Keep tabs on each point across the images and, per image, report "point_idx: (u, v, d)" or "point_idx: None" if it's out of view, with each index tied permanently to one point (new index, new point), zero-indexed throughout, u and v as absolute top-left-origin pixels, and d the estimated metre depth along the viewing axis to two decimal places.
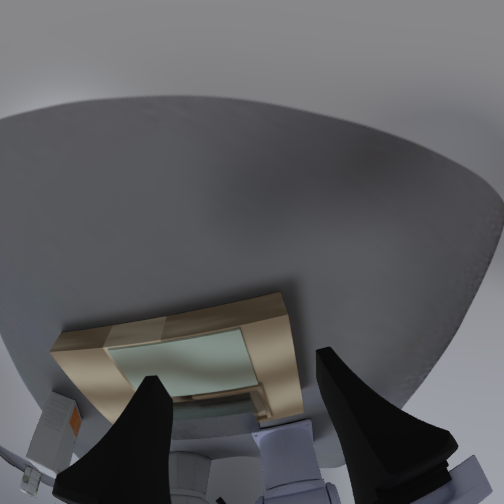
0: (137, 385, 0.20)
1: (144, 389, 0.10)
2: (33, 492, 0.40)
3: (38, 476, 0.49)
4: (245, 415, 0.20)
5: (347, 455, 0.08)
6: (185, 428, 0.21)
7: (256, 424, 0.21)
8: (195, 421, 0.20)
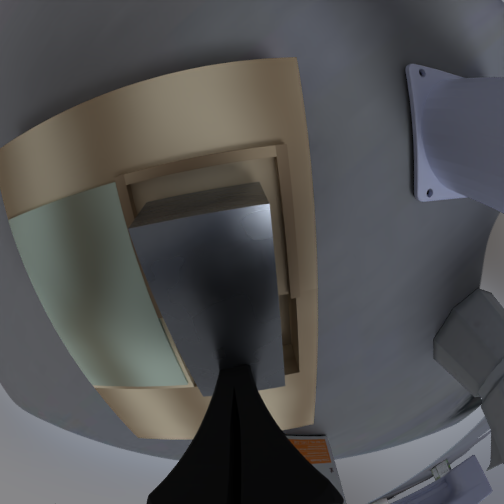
0: (151, 381, 0.13)
1: (227, 382, 0.10)
2: None
3: (445, 464, 0.54)
4: (150, 245, 0.07)
5: None
6: (224, 366, 0.10)
7: (214, 215, 0.07)
8: (188, 348, 0.10)
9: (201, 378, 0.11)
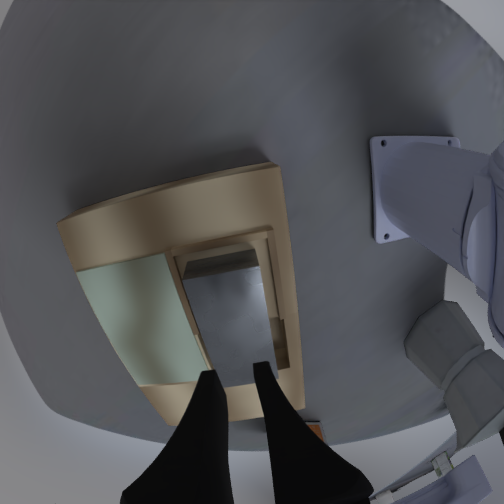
0: (185, 377, 0.19)
1: (206, 384, 0.10)
2: None
3: (444, 456, 0.60)
4: (195, 289, 0.14)
5: None
6: (236, 363, 0.16)
7: (230, 273, 0.14)
8: (214, 350, 0.16)
9: (221, 372, 0.17)
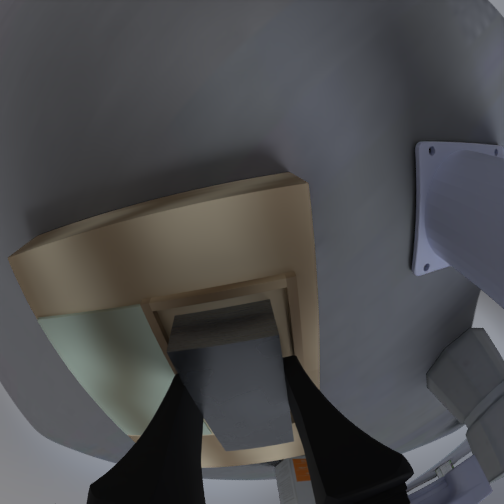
0: None
1: (177, 387, 0.10)
2: None
3: (449, 465, 0.55)
4: (185, 362, 0.09)
5: (308, 466, 0.08)
6: (243, 431, 0.12)
7: (235, 344, 0.09)
8: (215, 422, 0.11)
9: (225, 440, 0.12)
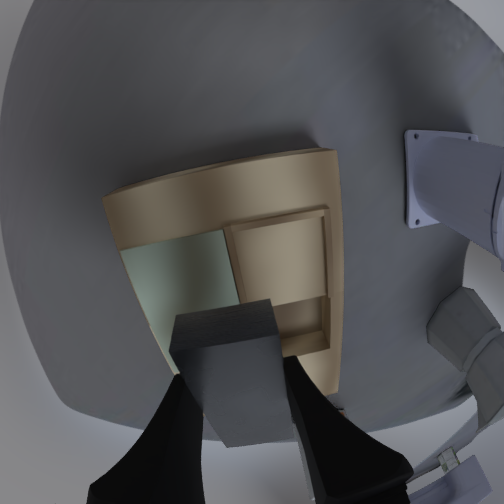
0: None
1: (177, 387, 0.10)
2: None
3: (450, 451, 0.60)
4: (187, 361, 0.09)
5: (308, 466, 0.08)
6: (244, 428, 0.12)
7: (237, 344, 0.09)
8: (216, 419, 0.11)
9: (226, 436, 0.12)
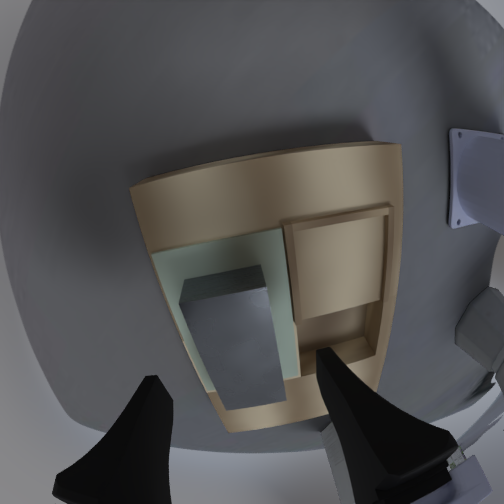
0: None
1: (144, 389, 0.10)
2: None
3: (458, 451, 0.58)
4: (193, 312, 0.12)
5: (347, 455, 0.08)
6: (241, 387, 0.14)
7: (233, 295, 0.12)
8: (216, 375, 0.14)
9: (225, 396, 0.15)
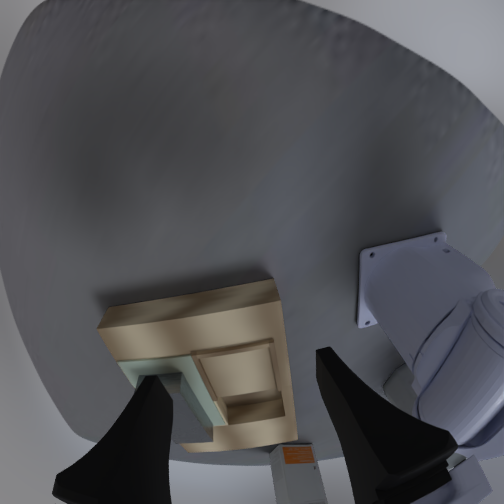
0: None
1: (144, 389, 0.10)
2: None
3: None
4: None
5: (347, 455, 0.08)
6: (180, 433, 0.20)
7: None
8: None
9: (172, 436, 0.21)
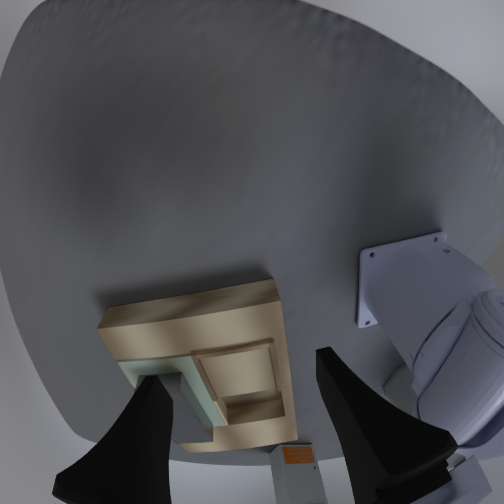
0: None
1: (144, 389, 0.10)
2: None
3: None
4: None
5: (347, 455, 0.08)
6: (180, 433, 0.20)
7: None
8: None
9: (172, 436, 0.21)
